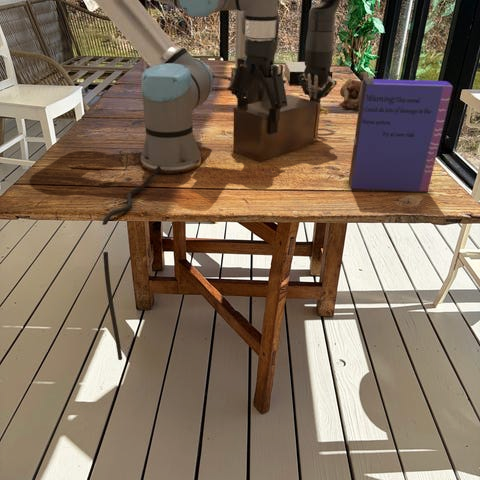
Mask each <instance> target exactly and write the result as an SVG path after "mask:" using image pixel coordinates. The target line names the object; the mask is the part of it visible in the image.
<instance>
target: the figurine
mask: <svg viewBox="0 0 480 480" xmlns="http://www.w3.org/2000/svg"><path fill="white" fill-rule="evenodd" d="M230 69H231V72H230V73H231V74H230V76H229V75H225V74H213V73H211V74H212V77H213V79H215V78H216V79H223V80H227V81H229V84H228V88H229V89H232V88H233V83H234V79H235V75H236V71H237V68H235V67H232V66H231V67H230ZM283 81H284V84H286V83H287V80H285V79H283ZM213 83H214V80H213Z"/></svg>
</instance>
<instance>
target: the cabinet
mask: <svg viewBox="0 0 480 480" xmlns="http://www.w3.org/2000/svg"><path fill="white" fill-rule="evenodd" d="M286 99H287V106H286V107H282V108H281V109H280V120H279V121H278V131H277V133H274V134H268V125H269V109H270V108H271V107H272V106H271V104H270V101H269V99H268V100H264V101H260V102H256V103H252V104H247V105H243V106H239V107H237V106H235V107H233V133H232V134H233V140H232V143H233V144H232V145H233V148H232V150H233V152H234V153H235V152H236V153H237V154H240V155H242V156H245V157H247V158H251V159H252V160H255V161H257V162H264V161H266V160H270V159H272V158H275V157H277V156H278V157H279V156H281V155H285V154H287V153H290V152H292V151H295V150H298V149H301V148H304V147H307V146H310V145H313V144H314V128H315V118H316V108H317V106H316V105H317V102H315V101H311V100H310V99H306V98H304V97H299V96H296V95H292V94H286ZM275 103H276V102H275Z"/></svg>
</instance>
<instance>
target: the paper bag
mask: <svg viewBox="0 0 480 480" xmlns="http://www.w3.org/2000/svg"><path fill="white" fill-rule="evenodd" d="M241 17H242V11H238V10H235V59H234V60H235V62H234V63H235V65H234V66H235V67H234V68H237V59H238V58H244V57H246V55H245V40H246V39H247V37H245V35H244V34H243V32H242V28H241Z"/></svg>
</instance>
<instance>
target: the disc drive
mask: <svg viewBox="0 0 480 480" xmlns="http://www.w3.org/2000/svg"><path fill="white" fill-rule="evenodd" d="M305 68H306V66H305V61H284V74H285V77H286V79H287V80H288V84H289V85H300V83H299V80H298V76H300V75H302V74H303V73H304V70H305ZM330 73H331V76H330V77H331V78H332V79H333V71H331V70H330ZM325 84H326V83H325Z"/></svg>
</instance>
